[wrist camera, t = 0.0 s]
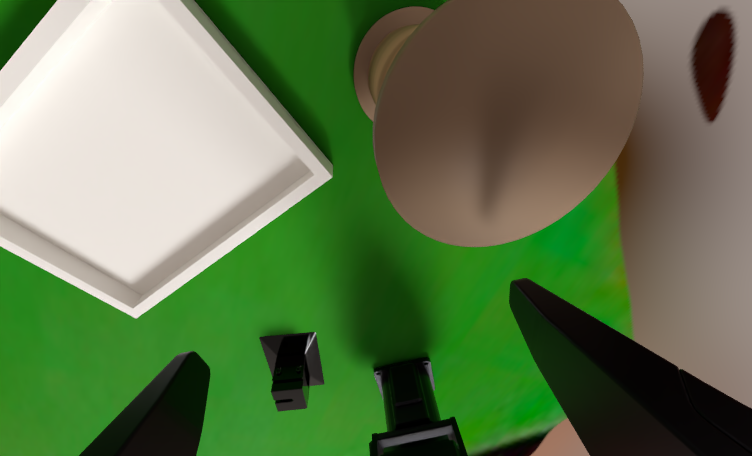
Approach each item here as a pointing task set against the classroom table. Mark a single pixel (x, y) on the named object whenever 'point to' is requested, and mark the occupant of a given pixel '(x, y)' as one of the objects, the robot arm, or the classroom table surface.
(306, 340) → the black holed block
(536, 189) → the brown wooden spool
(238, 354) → the classroom table surface
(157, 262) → the white rectangular tray
